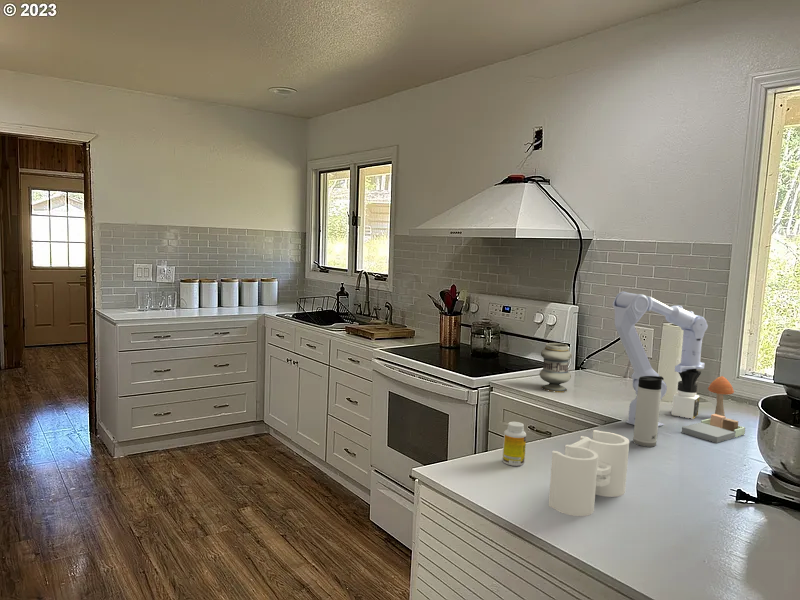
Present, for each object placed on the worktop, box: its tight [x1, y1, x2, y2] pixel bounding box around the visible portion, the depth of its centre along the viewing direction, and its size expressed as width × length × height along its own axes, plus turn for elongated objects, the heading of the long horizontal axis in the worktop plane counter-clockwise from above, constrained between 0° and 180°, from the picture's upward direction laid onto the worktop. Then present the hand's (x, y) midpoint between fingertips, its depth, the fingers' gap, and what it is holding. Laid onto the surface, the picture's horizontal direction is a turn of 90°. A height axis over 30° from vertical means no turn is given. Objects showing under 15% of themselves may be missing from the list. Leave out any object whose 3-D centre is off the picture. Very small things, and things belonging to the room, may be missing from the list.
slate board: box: [681, 422, 736, 444], centre depth 188 cm, size 11×11×2 cm
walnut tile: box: [722, 417, 739, 431], centre depth 190 cm, size 4×4×2 cm
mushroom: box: [707, 375, 735, 417], centre depth 207 cm, size 8×8×15 cm
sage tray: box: [700, 417, 746, 438], centre depth 193 cm, size 6×11×2 cm, turn 35°
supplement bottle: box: [501, 421, 527, 467], centre depth 155 cm, size 6×6×10 cm
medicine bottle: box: [671, 380, 701, 420], centre depth 210 cm, size 7×7×12 cm
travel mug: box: [632, 375, 664, 448], centre depth 176 cm, size 6×7×20 cm
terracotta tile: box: [710, 413, 727, 428], centre depth 195 cm, size 4×4×2 cm
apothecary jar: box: [539, 342, 573, 393], centre depth 239 cm, size 12×12×18 cm
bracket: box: [548, 429, 630, 517], centre depth 136 cm, size 25×10×12 cm, turn 138°
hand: (687, 391), depth 200 cm, fingers closed
